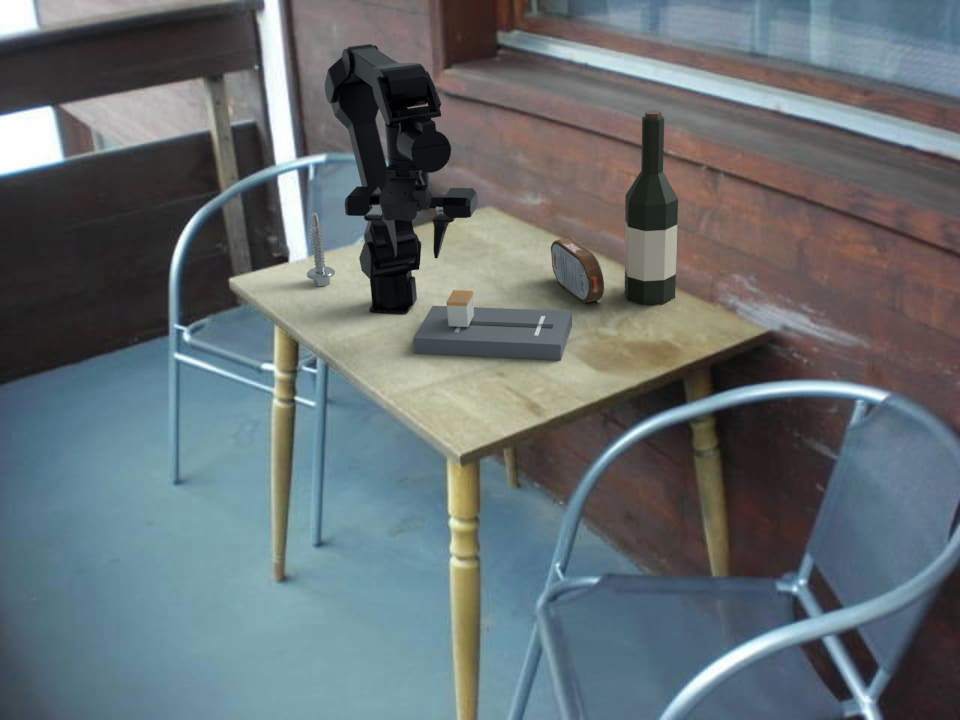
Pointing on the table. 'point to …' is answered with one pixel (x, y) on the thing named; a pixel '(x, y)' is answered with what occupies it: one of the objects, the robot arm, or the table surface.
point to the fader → (460, 308)
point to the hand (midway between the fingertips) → (415, 256)
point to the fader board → (496, 333)
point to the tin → (577, 270)
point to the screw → (318, 256)
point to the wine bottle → (651, 223)
